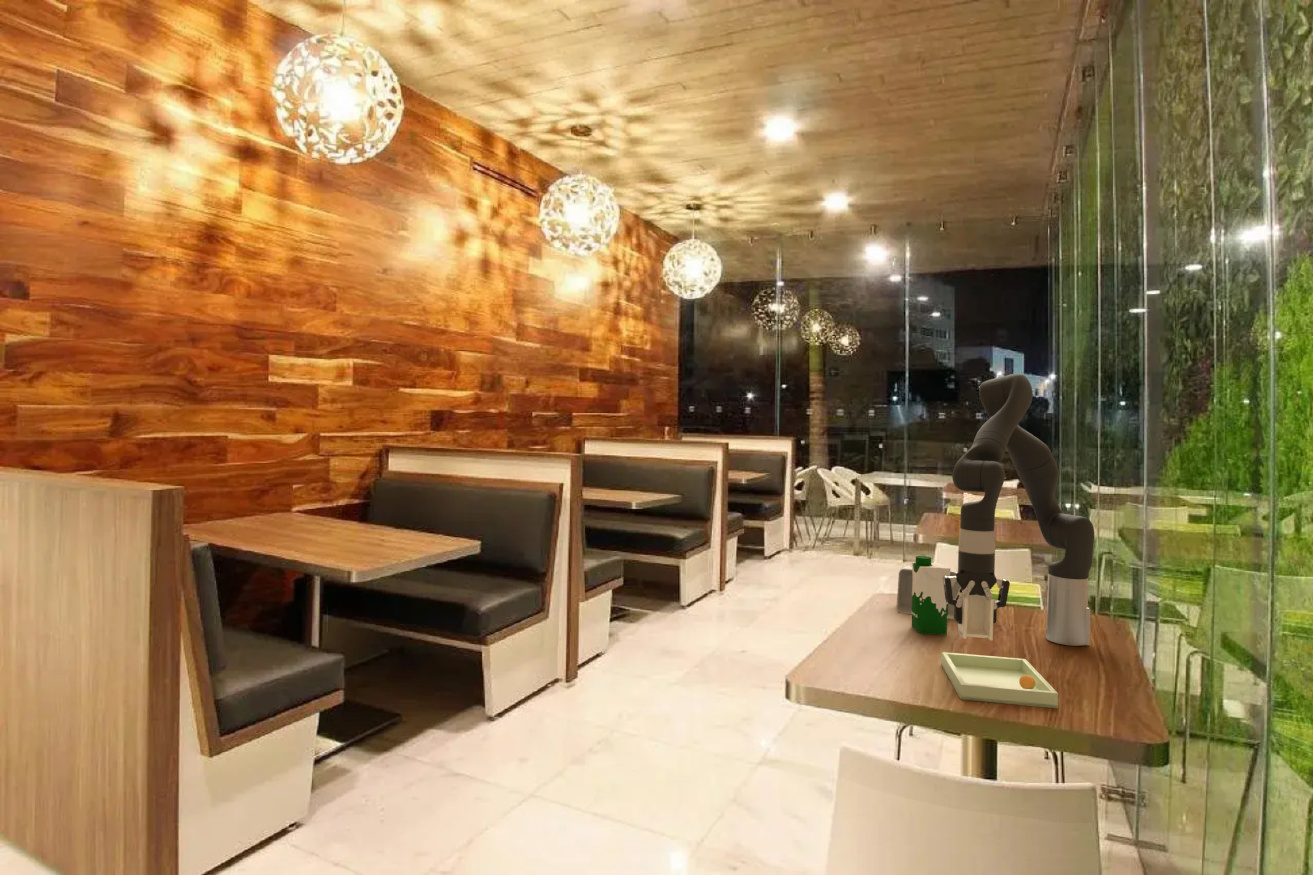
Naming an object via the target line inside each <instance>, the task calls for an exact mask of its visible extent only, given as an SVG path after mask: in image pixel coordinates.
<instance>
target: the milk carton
mask: <svg viewBox="0 0 1313 875" xmlns="http://www.w3.org/2000/svg"><path fill="white" fill-rule="evenodd" d="M911 567H912V574H913V583H912V614H911V628H913V629H914V630H915V631H916V632H918V633H919V634H920V635H946V636H947V634H948V621H949V619H948V602H947V601H946V600H945V592H944V584H943V577H944V576H947V577H950V571H951V568H950V567H948V566H947V565H945V564H943V563H939V562H932V557H930V556H925V555H918V556H917V555H916V556H915V562H914V561H912V562H911Z"/></svg>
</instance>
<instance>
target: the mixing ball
mask: <svg viewBox="0 0 1313 875" xmlns="http://www.w3.org/2000/svg"><path fill="white" fill-rule="evenodd" d="M1019 683H1020V686H1021V687H1022V688H1023V689H1033V688H1034V687H1035V680H1034V679H1033V678H1032V677H1031V676H1029V675H1023V676H1022V677H1021V678H1020V680H1019Z"/></svg>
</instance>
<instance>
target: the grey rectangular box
mask: <svg viewBox="0 0 1313 875" xmlns="http://www.w3.org/2000/svg"><path fill="white" fill-rule="evenodd" d="M957 572H958V570H957V571H956V570H950V577H951V576H956V574H957ZM897 578H898V582H897V595H896V611H897V612H898V613H900V614H907V615H912V583H913V574H912V566H907V565H906V566H902V567H901V568H900V570H899V572H898V577H897ZM960 588H961V586H960V585H959V584H958V582H957V581H955V582H954V586H952V595H953V599H955V598H956V596H957V593H958V591H959V589H960ZM962 591H963V590H962ZM950 619H951V620H955V619H954V605H952V604H949V603H948V620H950Z"/></svg>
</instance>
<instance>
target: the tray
mask: <svg viewBox="0 0 1313 875" xmlns="http://www.w3.org/2000/svg"><path fill="white" fill-rule="evenodd" d="M940 659H941V660H940V661H941V664H940V665H941V667H942V669H943V671H944V672H945V674H946V676H947V677H948V679H949V681H950V683H951V684H952V687H953V689H954V690H955V691H956V694H957V695H958V697H959V698H960V700H963V701H966V700H967V701H973V702H975V701H976V702H985V703H996V704H1007V705H1017V706H1027V707H1037V708H1039V707H1040V708H1048V709H1058V707H1059V706H1058V704H1059V703H1058V702H1059V692H1057V691H1056V689H1054V687H1052V685H1051V684H1050V683H1049V682H1048V681H1047V680H1046V679H1045V678H1044V677H1043V676H1042V675H1041V674H1040V673H1039V672H1038V671H1037V669H1036V668H1034V666H1033V665H1032V664H1031V663H1030V662H1029V661H1028V660H1027V659H1026V658H1017V657H1004V656H994V655H993V656H992V655H982V654H979V655H978V654H971V653H970V654H969V653H957V652H945V651H943V652H941V658H940ZM1023 675H1029V676H1031V677H1032V678H1033V679H1034V680H1035V687H1034V688H1033V689H1023V688H1022V687H1021V686H1020V683H1019V680H1020V678H1021V677H1022V676H1023Z"/></svg>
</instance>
